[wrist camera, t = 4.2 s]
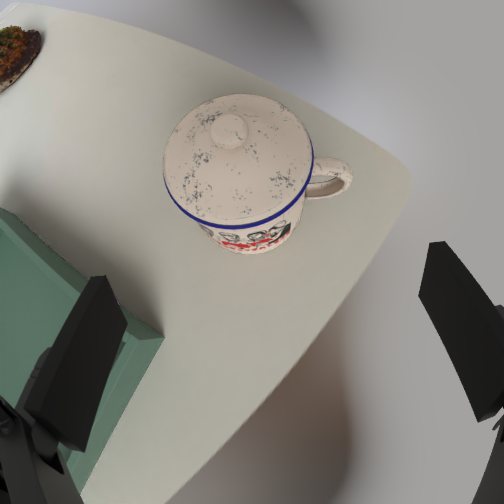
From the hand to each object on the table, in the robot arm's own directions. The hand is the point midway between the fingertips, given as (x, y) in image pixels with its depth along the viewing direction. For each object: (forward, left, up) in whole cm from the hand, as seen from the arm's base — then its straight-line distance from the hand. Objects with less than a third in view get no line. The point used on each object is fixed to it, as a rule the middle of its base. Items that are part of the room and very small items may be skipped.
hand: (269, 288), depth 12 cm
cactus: (+58, -10, -13) cm, 60 cm away
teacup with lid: (+5, -7, -13) cm, 15 cm away
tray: (+18, +19, -13) cm, 29 cm away
